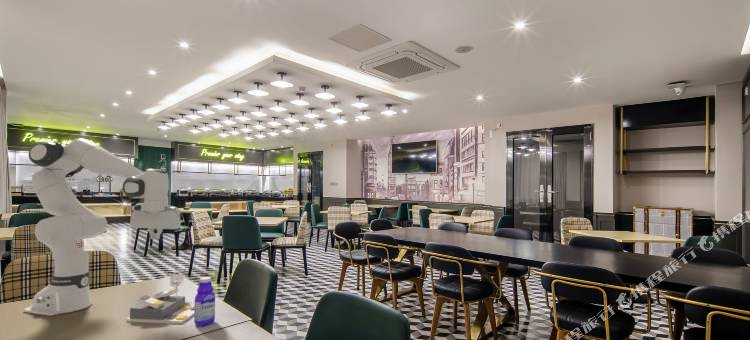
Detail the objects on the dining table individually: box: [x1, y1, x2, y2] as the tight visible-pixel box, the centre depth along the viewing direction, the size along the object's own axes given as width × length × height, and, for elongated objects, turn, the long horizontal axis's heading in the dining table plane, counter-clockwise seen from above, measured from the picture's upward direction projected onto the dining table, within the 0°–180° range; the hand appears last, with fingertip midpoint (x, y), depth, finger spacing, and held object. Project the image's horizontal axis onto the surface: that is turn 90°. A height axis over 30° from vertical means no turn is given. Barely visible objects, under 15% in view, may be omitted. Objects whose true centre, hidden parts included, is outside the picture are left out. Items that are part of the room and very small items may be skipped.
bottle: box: [193, 276, 216, 327], centre depth 139 cm, size 7×6×17 cm
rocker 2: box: [153, 287, 179, 299], centre depth 151 cm, size 8×4×2 cm, turn 88°
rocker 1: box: [137, 295, 164, 309], centre depth 141 cm, size 8×4×2 cm, turn 87°
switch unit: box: [125, 295, 195, 325], centre depth 146 cm, size 22×16×6 cm
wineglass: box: [168, 271, 185, 296], centre depth 164 cm, size 6×6×12 cm
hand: (155, 238), depth 154 cm, fingers closed
